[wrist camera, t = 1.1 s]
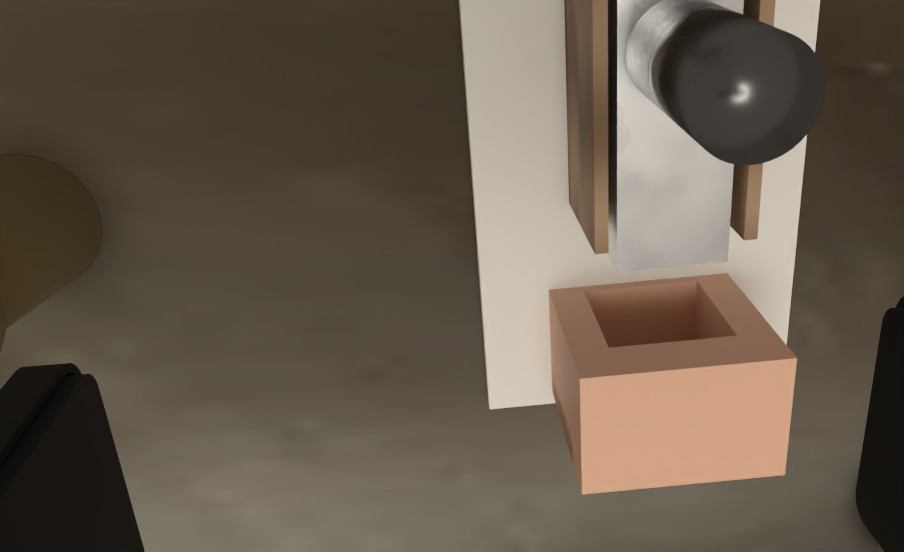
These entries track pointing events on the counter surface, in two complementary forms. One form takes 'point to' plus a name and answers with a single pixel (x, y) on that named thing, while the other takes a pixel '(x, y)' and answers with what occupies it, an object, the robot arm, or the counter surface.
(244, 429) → the counter surface
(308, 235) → the counter surface
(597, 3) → the walnut sleeve
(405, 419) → the counter surface
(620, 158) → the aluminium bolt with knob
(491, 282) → the grey base board
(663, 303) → the terracotta socket
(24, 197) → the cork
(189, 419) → the counter surface
